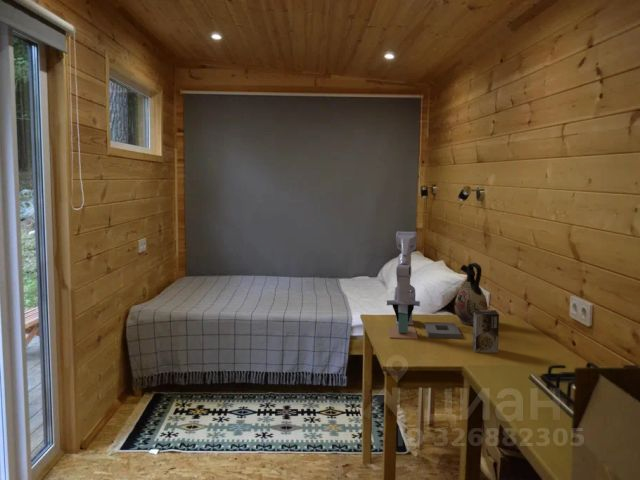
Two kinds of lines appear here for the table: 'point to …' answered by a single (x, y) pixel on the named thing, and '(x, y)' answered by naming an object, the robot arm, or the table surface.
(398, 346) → the table surface
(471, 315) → the ceramic jug
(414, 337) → the terracotta tile
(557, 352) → the table surface
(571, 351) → the table surface
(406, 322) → the teal block
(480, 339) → the coffee box
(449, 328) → the pocket board
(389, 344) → the table surface
